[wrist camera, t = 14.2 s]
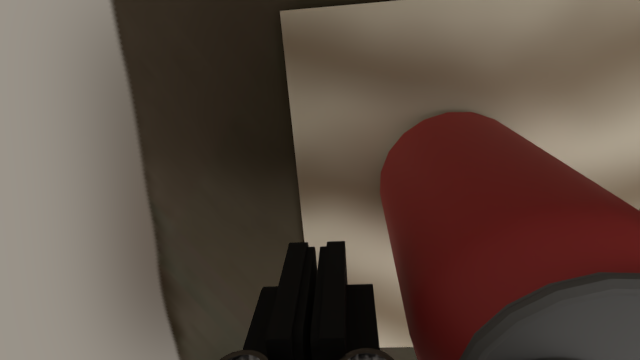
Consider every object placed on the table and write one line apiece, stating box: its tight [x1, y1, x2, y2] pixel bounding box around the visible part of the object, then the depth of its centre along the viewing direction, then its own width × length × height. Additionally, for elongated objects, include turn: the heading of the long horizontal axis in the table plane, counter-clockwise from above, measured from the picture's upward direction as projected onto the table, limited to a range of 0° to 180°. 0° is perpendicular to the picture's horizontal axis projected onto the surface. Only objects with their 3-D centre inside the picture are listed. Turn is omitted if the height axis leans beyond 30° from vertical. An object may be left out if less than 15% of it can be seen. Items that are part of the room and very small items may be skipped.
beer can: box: [380, 112, 640, 360], centre depth 13 cm, size 7×7×12 cm
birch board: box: [280, 0, 640, 347], centre depth 20 cm, size 18×16×1 cm
